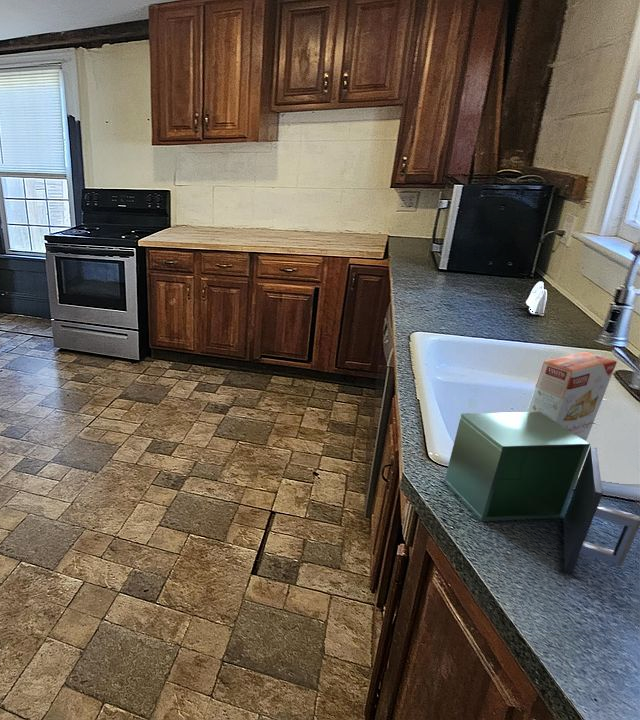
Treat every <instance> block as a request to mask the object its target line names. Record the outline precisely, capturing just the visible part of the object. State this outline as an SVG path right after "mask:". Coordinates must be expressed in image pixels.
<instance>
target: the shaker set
mask: <svg viewBox="0 0 640 720" xmlns="http://www.w3.org/2000/svg"><path fill="white" fill-rule="evenodd" d="M547 299H548V290H547V289H544V282H543V281H538V282H537V283H536V284H535V285H534V286H533V288H532V289H531V291H530V293H529V296H528V298H527V299H526V301H525V304H526V306H528V307H529V308H528V311H529V313H530V314H532V315H538V316H540V317H544V314H545V309H546V304H547ZM530 309H531V310H530ZM532 311H533V312H532ZM535 312H538V313H535ZM542 313H544V314H542Z"/></svg>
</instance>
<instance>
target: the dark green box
mask: <svg viewBox="0 0 640 720" xmlns="http://www.w3.org/2000/svg"><path fill="white" fill-rule="evenodd" d="M590 446H591V443H589V442H588V441H587V440H586V441H585V440H583V439H582V438H580V437H579V436H577V435H575V434H574V433H572V432H571V431H569V430H568V429H566V428H565V427H563V426H561V425H560V424H558V423H557V422H555V421H554V420H552V419H550V418H549V417H547V416H546V415H544V414H543V413H541V412H527V411H513V412H512V411H511V412H510V411H508V412H470V413H469V412H467V413H461V415H460V418H459V422H458V426H457V429H456V434H455V437H454V442H453V445H452V449H451V453H450V456H449V457H450V458H449V461H448V465H447V470H446V473H445V477H444V481H443V482H444V484H445V485H446V486H447V487H448V488H449V490H451V491H452V493H454V495H456V497H457V498H458V499H459V500H460V501H461V502H462V503H463V504H464V505H465V506H466V507H467V508H468V509H469V510H470V512H471V513H472V514H474V515H475V517H476V518H477V519H478V520H479V521H480V522H488V521H489V522H490V521H514V520H515V521H517V520H539V519H540V520H542V519H564V517H565V514H566V511H567V508H568V506H569V503H570V500H571V498H572V495H573V492H574V489H575V487H576V484H577V481H578V479H579V476H580V473H581V470H582V468H583V465H584V462H585V459H586V457H587V454H588V451H589V449H590Z"/></svg>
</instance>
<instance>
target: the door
mask: <svg viewBox="0 0 640 720" xmlns="http://www.w3.org/2000/svg"><path fill="white" fill-rule="evenodd" d="M599 464H600V463H599V456H598V449H597V447H596V446H595V447H594V446H592V445H590V446H589V448H588V451H587V454H586V457H585V459H584V462H583V465H582V467H581V470H580V473H579V476H578V478H577V481H576V484H575V487H574V489H573V492H572V495H571V497H570V500H569V503H568V506H567V508H566V511H565V514H564V516H563V555H564V556H563V558H564V559H563V560H564V561H563V563H564V573H567V574H570V575H571V574H572V573H573V571H574V568H575V565H576V563H577V561H578V558H579V555H580V554H582V555H584V556H587V557H591V558H594V559H597V560H600V561H603V562H605V563H609V564H611V565H615V566H618V567H622V566H623V565H624V562H625V560H626V558H627V556H628V553H629V552H630V550H631V546H632V544H633V542H634V540H635V537H636V535H637V533H638V531H639V530H640V529H639V528H640V516H639V515H637V514H635V513H631V512H628V511H624V510H620V509H618V508H614V507H611V506H608V505H605V504H600V501H601V499H602V497H603V494H604V493H603V486H602V485H603V484H602V478H601V472H600V470H601V469H600V465H599ZM594 517H595V518H598V519H602V520H605V521H609V522H612V523H615V524H619V525H622V526H623V528H622V531H621V532H620V535H619V537H618V541H617V543H616V544H615V547H614V549H612V548H611V549H610V548H608V547H604V546H601V545H598V544H595V543H592V542H590V541H586V537H587V535H588V532H589V529H590V527H591V526H592V522H593V521H594V520H593V519H594Z"/></svg>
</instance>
